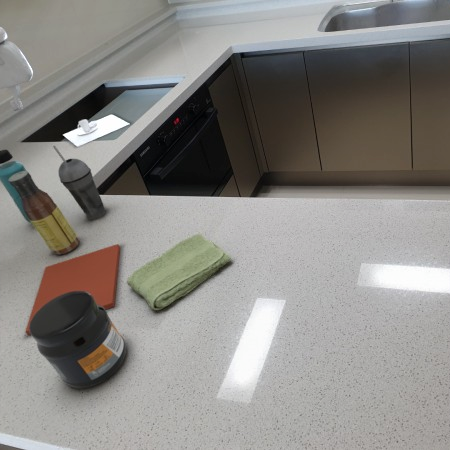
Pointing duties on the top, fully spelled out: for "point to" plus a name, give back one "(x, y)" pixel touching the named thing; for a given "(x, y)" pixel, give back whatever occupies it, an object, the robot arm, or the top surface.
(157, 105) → the top surface
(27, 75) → the robot arm
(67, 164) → the beverage cup
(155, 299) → the washcloth
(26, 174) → the sauce bottle
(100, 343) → the supplement container
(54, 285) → the condiment mat
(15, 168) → the beverage bottle
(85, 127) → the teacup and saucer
